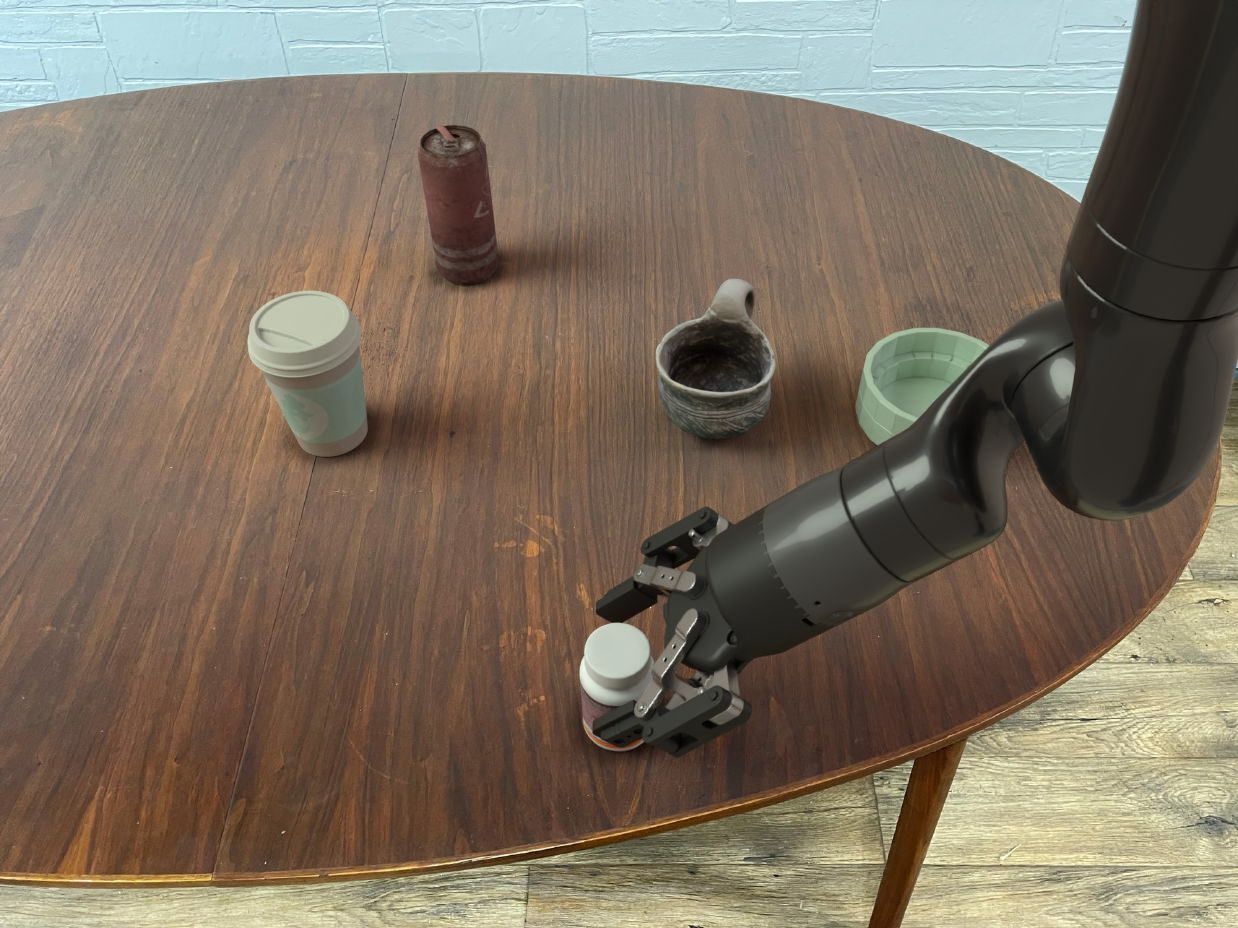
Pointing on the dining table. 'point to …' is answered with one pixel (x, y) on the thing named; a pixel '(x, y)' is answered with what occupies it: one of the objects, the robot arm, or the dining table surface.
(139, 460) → the dining table surface
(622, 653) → the pill bottle
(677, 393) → the mug
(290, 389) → the coffee cup
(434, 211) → the can
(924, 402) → the bowl
